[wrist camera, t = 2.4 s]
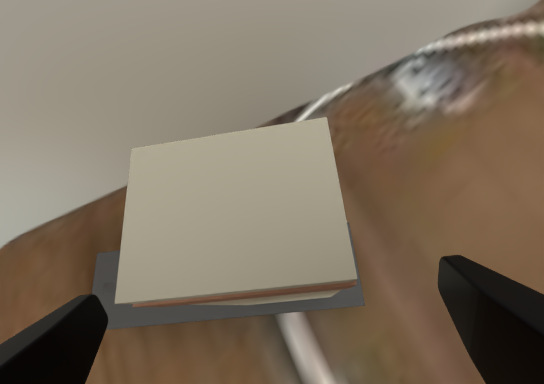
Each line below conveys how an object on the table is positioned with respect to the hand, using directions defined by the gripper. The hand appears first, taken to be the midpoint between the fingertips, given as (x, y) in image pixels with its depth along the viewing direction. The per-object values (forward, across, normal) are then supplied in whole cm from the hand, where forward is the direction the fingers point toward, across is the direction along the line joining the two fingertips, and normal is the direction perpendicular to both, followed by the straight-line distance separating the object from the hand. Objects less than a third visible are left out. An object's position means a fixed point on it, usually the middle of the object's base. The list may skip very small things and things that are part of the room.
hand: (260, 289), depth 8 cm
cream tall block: (+6, 0, +4) cm, 7 cm away
